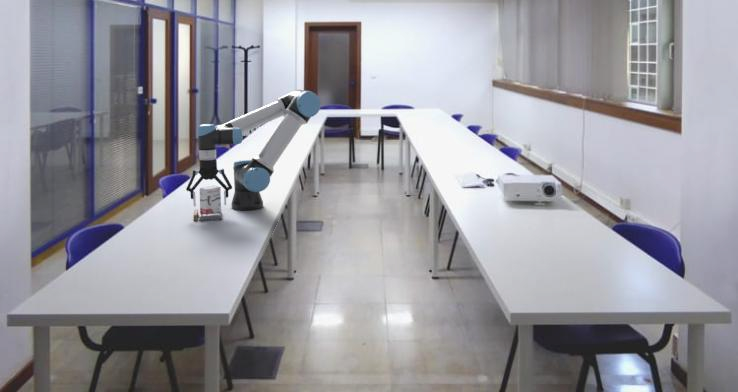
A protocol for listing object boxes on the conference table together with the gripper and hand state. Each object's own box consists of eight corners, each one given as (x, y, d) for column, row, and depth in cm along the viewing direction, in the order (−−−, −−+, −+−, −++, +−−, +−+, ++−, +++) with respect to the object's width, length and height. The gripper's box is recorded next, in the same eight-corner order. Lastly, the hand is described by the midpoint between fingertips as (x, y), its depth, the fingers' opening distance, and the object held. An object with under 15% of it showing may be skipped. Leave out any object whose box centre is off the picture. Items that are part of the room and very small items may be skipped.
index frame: (221, 213, 331) (221, 209, 331) (221, 219, 318) (221, 215, 318) (200, 214, 329) (200, 210, 329) (199, 221, 316) (199, 216, 316)
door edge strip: (198, 214, 328) (198, 209, 328) (197, 220, 317) (196, 215, 316) (195, 214, 328) (194, 209, 328) (193, 220, 317) (193, 215, 316)
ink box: (206, 215, 318) (205, 189, 316) (199, 213, 322) (198, 187, 319) (222, 211, 325) (220, 186, 323) (215, 210, 328) (213, 185, 326)
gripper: (178, 161, 312) (181, 208, 317) (236, 159, 317) (238, 205, 321) (179, 158, 320) (182, 204, 324) (236, 156, 324) (237, 202, 328)
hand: (210, 205), depth 323 cm, fingers open, 13 cm apart
